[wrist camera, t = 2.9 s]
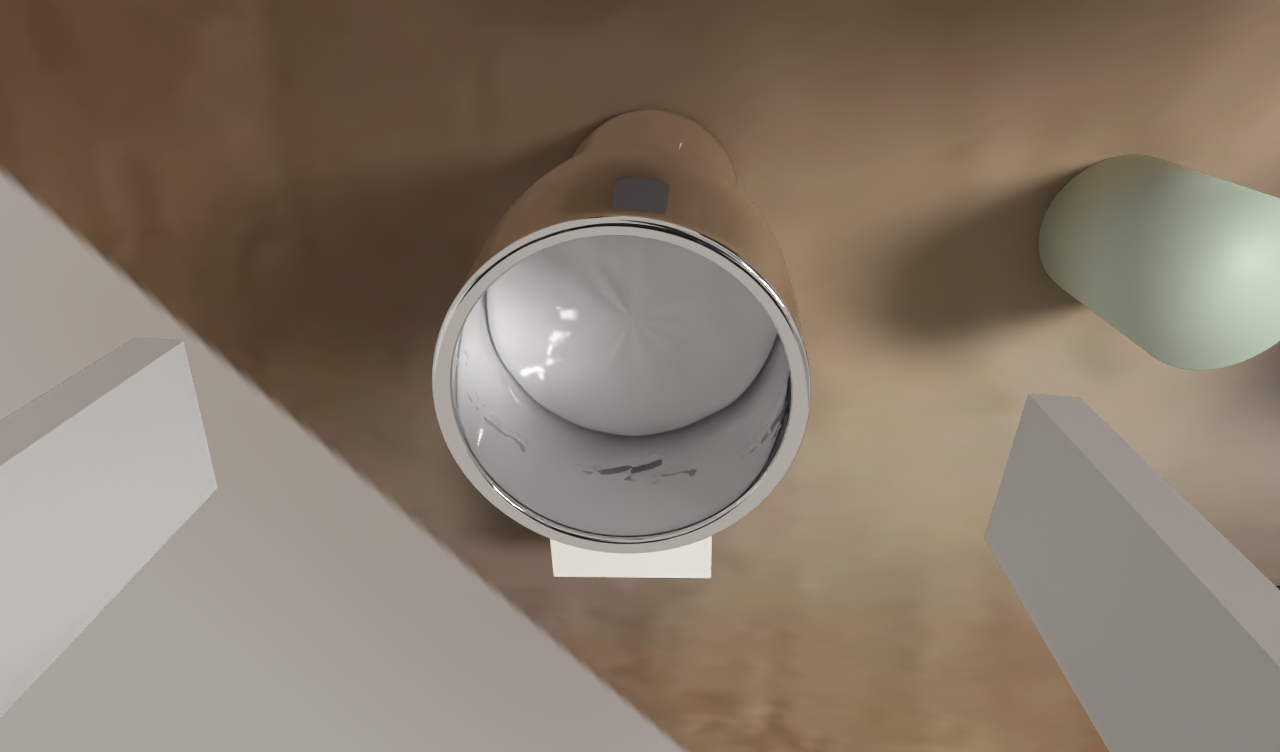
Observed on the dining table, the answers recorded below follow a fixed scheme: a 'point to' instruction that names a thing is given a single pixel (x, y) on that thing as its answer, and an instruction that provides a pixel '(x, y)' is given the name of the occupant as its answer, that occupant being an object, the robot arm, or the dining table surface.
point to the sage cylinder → (1169, 259)
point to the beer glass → (627, 347)
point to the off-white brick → (633, 562)
